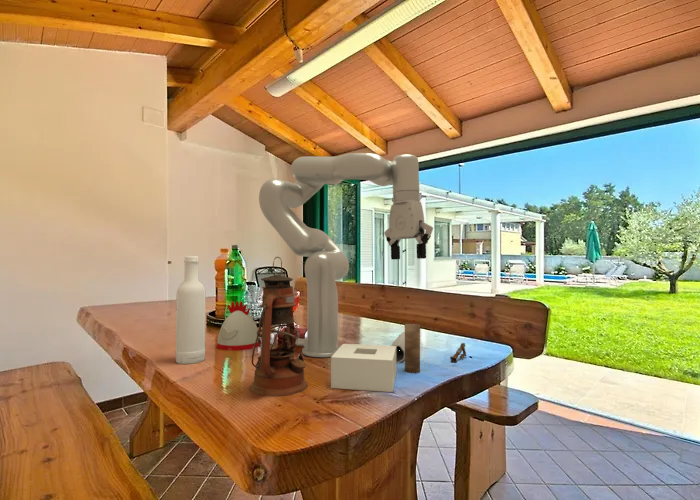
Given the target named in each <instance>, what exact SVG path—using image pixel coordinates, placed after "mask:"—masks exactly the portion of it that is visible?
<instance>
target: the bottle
mask: <svg viewBox="0 0 700 500" xmlns="http://www.w3.org/2000/svg"><path fill="white" fill-rule="evenodd" d="M183 262H184V280H183V282H181V283H180V284H179V285H178V287H177V290H176V299H175V300H176V308H175V309H176V311H175V313H176V314H175V318H176V319H175V322H176V323H175V325H176V326H175V327H176V328H175V362H176V363H177V364H180V365H193V364H198V363H201V362H203V361H205V359H206V289H205V287H204V284H203V283H202V282H200V281H199V263H200V261H199V256H198V255H195V256H193V255H185V256H184V260H183Z"/></svg>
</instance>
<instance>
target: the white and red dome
mask: <svg viewBox="0 0 700 500" xmlns="http://www.w3.org/2000/svg"><path fill="white" fill-rule="evenodd" d="M227 308H228V311H229V313H230V314H229V315H228V316H227V317H226V318H225V320H224V321H223V323H222V324H221V327H220V329H219V333H218V337H217V342H216V347H217V349H218V350H221V351H228V352H229V351H233V352H234V351H238V352H239V351H246V350H251V349H252V350H253V349H254V345H255V342H256V338H257V331H258V330H259V328H258V326H257V324H256V321H255V320H254V318H253V317H252V316H251V315H250V314H249V313H250V311H251V307H250V308H247V304H244V305H243V301H240V302H239V300H236V302H234V301H231V303H230V304H227ZM246 309H247V311H246ZM258 339H259V338H258ZM259 344H260V343H259V342H258V341H257V344H256V348H258V347H259ZM259 348H260V347H259Z"/></svg>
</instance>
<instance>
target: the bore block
mask: <svg viewBox="0 0 700 500" xmlns="http://www.w3.org/2000/svg"><path fill="white" fill-rule="evenodd" d="M396 377H397V362H396V346H391V345H379V344H358V343H342V345H340V348H339V349H338V350H337V351H336V352H335V353H334V354H333V356H332V357H330V389H342V390H343V389H344V390H357V391H372V392H387V393H388V392H389V393H393V392H394V388H395V387H394V386H395V381H396Z"/></svg>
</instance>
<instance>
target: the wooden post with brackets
mask: <svg viewBox="0 0 700 500" xmlns="http://www.w3.org/2000/svg"><path fill="white" fill-rule="evenodd" d="M465 347H466V343H465V342H461V343H460V346H459V347H458V348H457V350H456V351H455V353H454V355H453V356H452V355H450V356H449V358H450V362H453V363H458V358H459V360H463V359H464V358H465V357H467V352H466V348H465Z"/></svg>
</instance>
